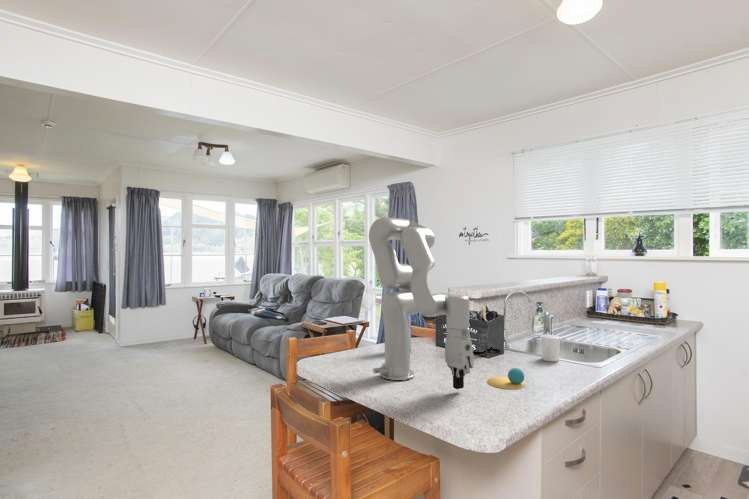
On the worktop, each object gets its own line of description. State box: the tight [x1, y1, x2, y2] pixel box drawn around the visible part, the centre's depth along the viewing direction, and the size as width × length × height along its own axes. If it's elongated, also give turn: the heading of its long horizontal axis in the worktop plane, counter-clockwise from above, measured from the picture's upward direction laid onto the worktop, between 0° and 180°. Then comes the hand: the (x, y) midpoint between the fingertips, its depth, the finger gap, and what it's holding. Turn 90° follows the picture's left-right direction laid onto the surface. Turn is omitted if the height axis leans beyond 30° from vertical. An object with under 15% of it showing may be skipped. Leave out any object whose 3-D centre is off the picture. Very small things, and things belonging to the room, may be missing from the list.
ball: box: [507, 367, 525, 384], centre depth 146 cm, size 6×6×6 cm
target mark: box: [486, 376, 526, 390], centre depth 147 cm, size 13×13×1 cm
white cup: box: [539, 333, 561, 362], centre depth 178 cm, size 8×8×10 cm
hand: (458, 387), depth 138 cm, fingers closed
